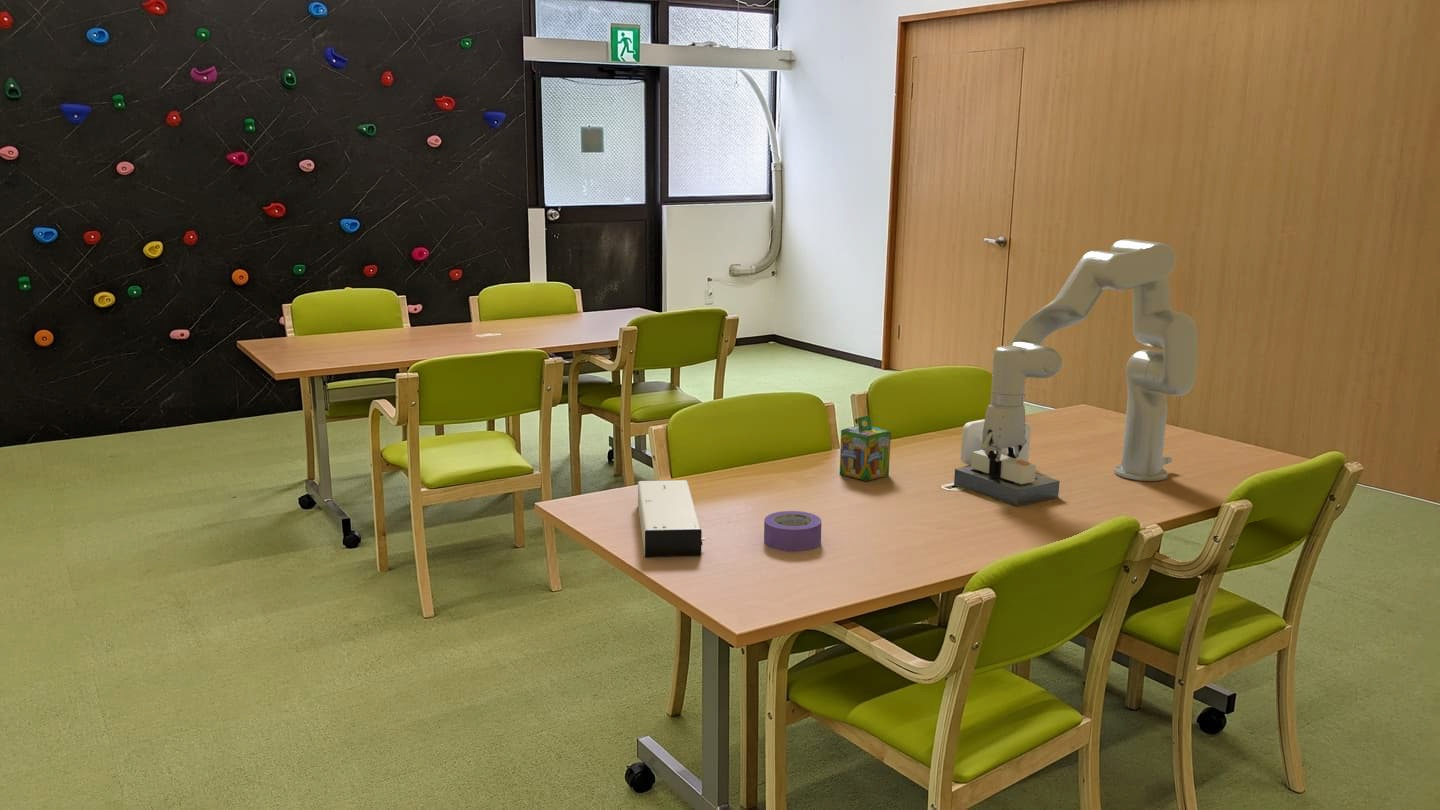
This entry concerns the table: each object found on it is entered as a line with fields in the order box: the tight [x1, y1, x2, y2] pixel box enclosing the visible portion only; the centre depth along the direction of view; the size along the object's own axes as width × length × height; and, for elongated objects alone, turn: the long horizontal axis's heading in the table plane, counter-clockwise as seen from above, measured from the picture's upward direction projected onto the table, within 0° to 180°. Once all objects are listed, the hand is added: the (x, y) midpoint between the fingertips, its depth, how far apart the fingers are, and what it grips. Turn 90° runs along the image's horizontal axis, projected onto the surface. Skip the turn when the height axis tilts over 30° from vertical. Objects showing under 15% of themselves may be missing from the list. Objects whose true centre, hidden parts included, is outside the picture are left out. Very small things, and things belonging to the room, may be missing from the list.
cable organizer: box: [960, 418, 1032, 466], centre depth 293 cm, size 15×11×12 cm
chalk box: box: [839, 414, 892, 482], centre depth 284 cm, size 9×9×15 cm
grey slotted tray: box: [953, 465, 1061, 508], centre depth 273 cm, size 14×20×4 cm
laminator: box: [637, 479, 706, 558], centre depth 243 cm, size 34×12×6 cm, turn 6°
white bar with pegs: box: [970, 450, 1037, 486], centre depth 271 cm, size 4×16×8 cm, turn 33°
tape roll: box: [763, 510, 822, 553], centre depth 236 cm, size 12×12×5 cm
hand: (1002, 473), depth 271 cm, fingers closed on white bar with pegs, 4 cm apart
